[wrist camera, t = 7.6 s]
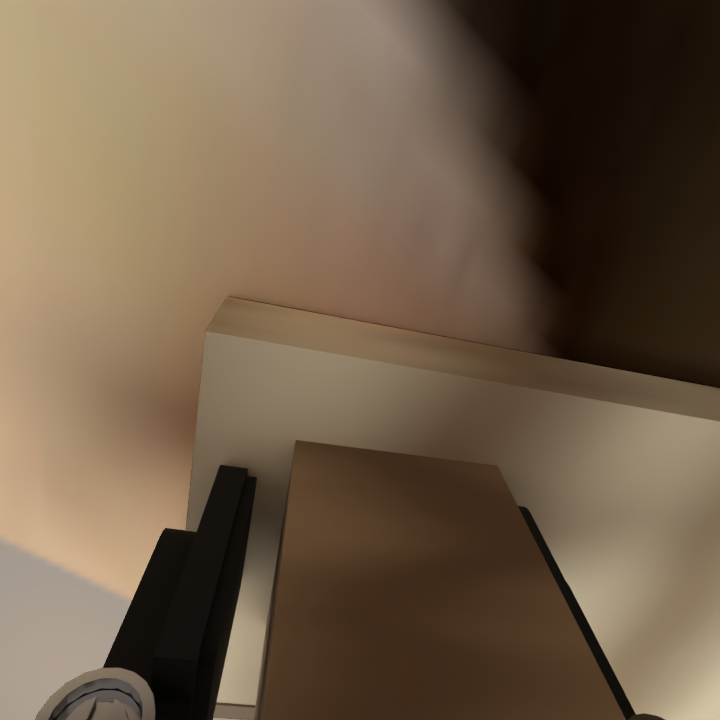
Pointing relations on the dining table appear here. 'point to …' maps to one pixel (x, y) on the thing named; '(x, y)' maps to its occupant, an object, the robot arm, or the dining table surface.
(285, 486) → the board
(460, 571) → the mallet
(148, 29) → the dining table surface
